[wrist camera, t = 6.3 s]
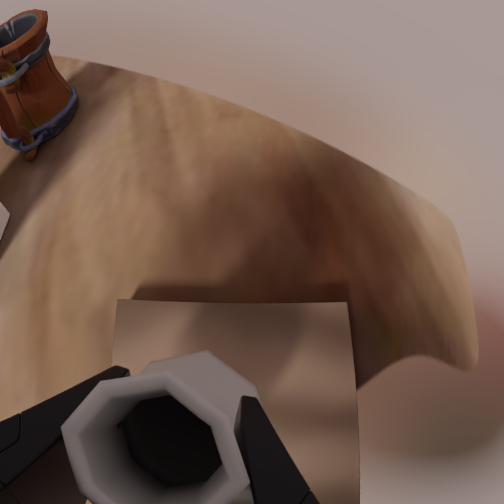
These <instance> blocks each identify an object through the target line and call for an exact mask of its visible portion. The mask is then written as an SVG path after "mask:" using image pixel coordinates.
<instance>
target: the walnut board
mask: <svg viewBox="0 0 504 504" xmlns="http://www.w3.org/2000/svg"><path fill="white" fill-rule="evenodd" d="M204 350H209V351H210V352H212V353H213V354H214V355H215V356H217V357H218V358H219V359H221V360H222V361H223V362H224V363H226V364H227V365H228V366H230V367H231V368H232V369H234V370H235V371H236V372H238V373H239V374H240V375H242V376H243V377H244V378H246V379H247V380H248V381H250V382H251V383H253V384H254V385H255V386H256V388H257V392H258V395H259V398H260V401H261V404H262V408H263V410H264V411H265V413H266V415H267V417H268V418H269V420H270V422H271V424H272V425H273V427H274V429H275V431H276V432H277V434H278V436H279V438H280V439H281V441H282V443H283V444H284V446H285V448H286V450H287V451H288V453H289V455H290V456H291V458H292V460H293V461H294V463H295V465H296V466H297V468H298V469H299V471H300V473H301V474H302V476H303V478H304V479H305V481H306V482H307V484H308V486H309V487H310V491H312V492H313V493H314V495H315V496H316V498H317V500H318V501H319V503H320V504H360V456H359V455H360V453H359V427H358V409H357V394H356V381H355V370H354V359H353V349H352V340H351V331H350V323H349V315H348V308H347V302H329V303H203V302H171V301H147V300H127V299H118V300H117V309H116V319H115V329H114V341H113V355H112V367H113V366H115V365H118V366H122V367H125V368H128V369H129V370H130V376H135V375H139V374H140V373H141V372H142V371H143V369H144V368H145V367H146V366H147V365H148V364H149V363H150V362H151V361H156V360H161V359H166V358H171V357H176V356H181V355H186V354H190V353H195V352H199V351H204Z"/></svg>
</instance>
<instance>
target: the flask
mask: <svg viewBox="0 0 504 504" xmlns="http://www.w3.org/2000/svg"><path fill="white" fill-rule="evenodd" d="M243 395H245V396H251V397H256V398H257V399H258V401H259V402H260V404H261V401H260V398H259V395H258V392H257V388H256V386H255V385H254V384H253V383H251V382H250V381H248V380H247V379H246V378H244V377H243V376H242V375H240V374H239V373H238V372H236V371H235V370H234V369H232V368H231V367H230V366H228V365H227V364H226V363H224V362H223V361H222V360H221V359H219V358H218V357H217V356H215V355H214V354H213V353H212V352H210V351H209V350H204V351H199V352H195V353H190V354H186V355H181V356H176V357H171V358H166V359H161V360H156V361H151V362H150V363H149V364H148V365H147V366H146V367H145V368H144V369H143V371H142V372H141V373H140V374H139V375H135V376H129V377H123V378H117V379H111V380H104V381H100V382H99V383H98V384H97V386H96V387H95V388H94V389H93V390H92V391H91V392H90V394H89V395H88V396H87V397H86V398H85V399H84V401H83V402H82V403H81V404H80V405H79V406H78V407H77V409H76V410H75V411H74V412H73V413H72V414H71V416H70V417H69V418H68V419H67V420H66V421H65V423H64V424H63V425H62V426H61V430H62V434H63V438H64V442H65V446H66V450H67V454H68V457H69V461H70V464H71V468H72V471H73V474H74V477H75V480H76V483H77V486H78V489H79V492H80V493H81V494H82V495H84V496H85V497H86V498H87V499H88V500H89V501H90V502H91V503H92V504H231V503H232V502H233V501H234V500H235V499H236V498H237V497H238V496H239V494H240V493H241V492H242V491H243V490H244V489H245V488H246V487H247V485H248V484H249V483H250V480H249V477H248V474H247V471H246V468H245V465H244V462H243V459H242V456H241V453H240V450H239V447H238V444H237V441H236V438H235V435H234V432H233V431H234V424H235V418H236V414H237V410H238V406H239V402H240V398H241V396H243ZM261 406H262V404H261ZM120 422H121V424H120V427H119V429H118V428H117V427H116V425H117V424H118V423H120Z"/></svg>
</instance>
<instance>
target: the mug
mask: <svg viewBox="0 0 504 504" xmlns="http://www.w3.org/2000/svg"><path fill="white" fill-rule="evenodd" d="M47 22H48V15H47V11H42V10H37V9H34V10H29V11H25V12H21V13H19V14H18V15H16V16H14V17H12V18H11V19H10V20H8V21H7V22H5V23H3V24H2V25H0V126H1V136H2V139H3V140H4V142H5V143H6V144H7V145H8V146H10V147H12V148H14V149H15V150H21V151H27V153H26V155H25V160H26V161H28V162H30V161H33V160H34V158H35V155H36V151H37V148H38V145H39V144H41V143H43V142H45V141H46V140H48V139H50V138H52V137H54V136H56V135H57V134H58V133H59V132H60V131H61V130H62V129H63V128H64V127H65V126H66V125H67V124H68V123H69V122H70V121H71V119H72V116H73V114H74V112H75V110H76V107H77V105H78V102H79V100H78V96H77V93H76V90H75V88H74V86H72V85H69V84H68V83H67V82H66V81H65V79H64V78H63V77H62V76H61V74H60V73H59V72H58V71H57V69H56V68H55V65H54V63H53V60H52V58H51V55H50V53H49V50H48V49H49V45H50V39H49V35H48V33H47V32H46V28H47Z"/></svg>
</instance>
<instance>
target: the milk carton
mask: <svg viewBox="0 0 504 504" xmlns="http://www.w3.org/2000/svg"><path fill="white" fill-rule="evenodd" d="M9 216H10V214H9V212H8V211H7V210H6V208H5V207H4V206H3V204H2V203H1V202H0V240H1V237H2V235H3V232H4V229H5V227H6V224H7V222H8V219H9Z"/></svg>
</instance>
